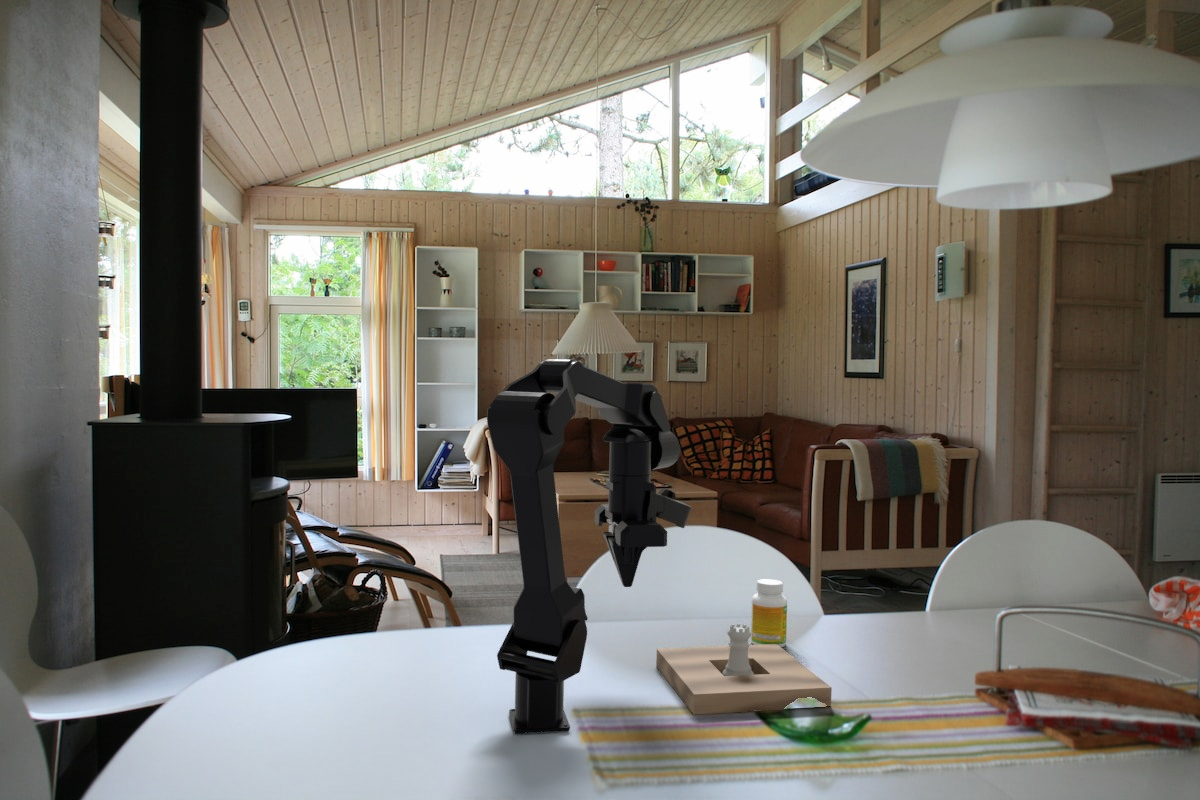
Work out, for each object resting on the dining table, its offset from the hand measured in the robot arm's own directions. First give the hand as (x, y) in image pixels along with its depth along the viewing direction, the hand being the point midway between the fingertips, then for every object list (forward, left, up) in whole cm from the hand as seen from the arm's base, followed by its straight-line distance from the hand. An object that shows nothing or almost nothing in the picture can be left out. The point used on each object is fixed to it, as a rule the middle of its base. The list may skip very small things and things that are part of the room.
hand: (627, 586), depth 123 cm
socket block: (-7, -14, -12) cm, 20 cm away
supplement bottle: (+10, -25, -12) cm, 30 cm away
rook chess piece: (-7, -14, -12) cm, 20 cm away
